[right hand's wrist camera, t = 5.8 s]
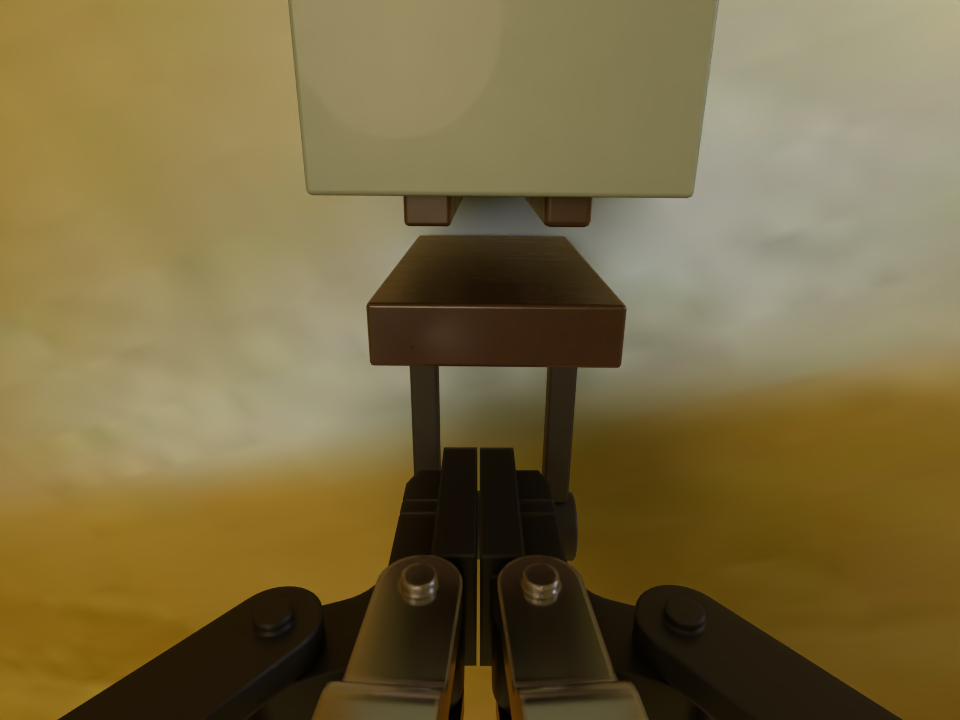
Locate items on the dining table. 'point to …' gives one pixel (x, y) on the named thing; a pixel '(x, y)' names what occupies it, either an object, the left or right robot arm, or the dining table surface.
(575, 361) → the drawer
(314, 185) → the cabinet
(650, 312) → the dining table surface
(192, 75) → the dining table surface
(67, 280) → the dining table surface
